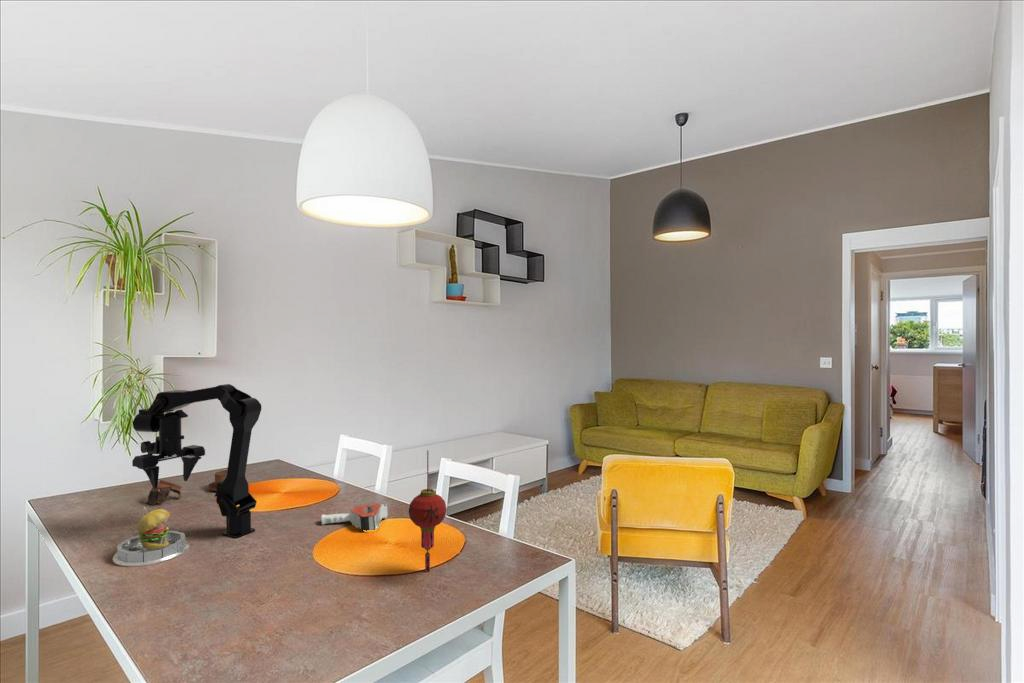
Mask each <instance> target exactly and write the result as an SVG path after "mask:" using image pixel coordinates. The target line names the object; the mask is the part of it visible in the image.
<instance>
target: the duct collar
mask: <svg viewBox="0 0 1024 683" xmlns="http://www.w3.org/2000/svg"><path fill="white" fill-rule="evenodd" d="M167 533H168V534H167V536H166V537H165V539H166V538H167V541H168V542H169V545H168V546H165V547H162V548H158V549H153V550H150V549H147V548H145V547H143V546H142V545H141V543H140V540H139V537H140V536H139V535H136V536H132V537H130V538H128V539H125V540H124V541H122V542H121V543H119V544H117V549H116V553H114V554H113V556H112V563H113V564H114V565H116V566H120V567H127V568H129V567H131V568H132V567H144V566H151V565H156V564H157V565H158V564H160V562H161V563H164V562H168V561H170V560H173V559H175V558H178V557H180V556H182V555H184V554H185V553H186V552H188V550H189V548H190V543H189V541H187V540H186V535H185V533H184V532H180V531H177V530H167ZM163 538H164V537H162V539H163Z"/></svg>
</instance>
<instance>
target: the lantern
mask: <svg viewBox="0 0 1024 683" xmlns="http://www.w3.org/2000/svg"><path fill="white" fill-rule="evenodd" d="M426 456H427V458H426V459H427V460H426V461H427V462H426V463H427V465H426V466H427V467H426V468H427V469H426V470H427V472H426V473H427V474H426V476H427V478H426V479H427V480H426V488H425V489H422V490H420V493H419V494H418V495H416V496H414V497H413V499H412V500H411V502H409V507H408V515H409V519H410V520H411V521H412V523H413V524H414V525H415V526H416V527H419V529H420V531H421V536H420V542H421V548H422V549H424V550H425V551H426V552H425V554H424V556H425V558H424V566H425V567H424V568H425V569H424V572H426V571H427V572H426V573H429V572H431V553H430V552H429V551H430V550H431V549H432V548H433V547H435V528H436V526H438V525H441V523H442V522H443V521H444V519H445V518H446V516H447V511H448V510H447V504H446V501H445V500H444V498H443V497H442V496H440V495H439V494H437V493H436V490H435V489H432V488H429V450H427V452H426Z"/></svg>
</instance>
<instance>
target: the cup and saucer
mask: <svg viewBox="0 0 1024 683" xmlns="http://www.w3.org/2000/svg"><path fill="white" fill-rule="evenodd" d="M226 475H227V470H225V469H224V470H220V471H216V472H215V473H214V481H213V482H210V483H209V484H208V485H207V488H208V489H209V490H211V491H214V492H216V491H217V483H218V482H221V481H223V480H225V478H226Z"/></svg>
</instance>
